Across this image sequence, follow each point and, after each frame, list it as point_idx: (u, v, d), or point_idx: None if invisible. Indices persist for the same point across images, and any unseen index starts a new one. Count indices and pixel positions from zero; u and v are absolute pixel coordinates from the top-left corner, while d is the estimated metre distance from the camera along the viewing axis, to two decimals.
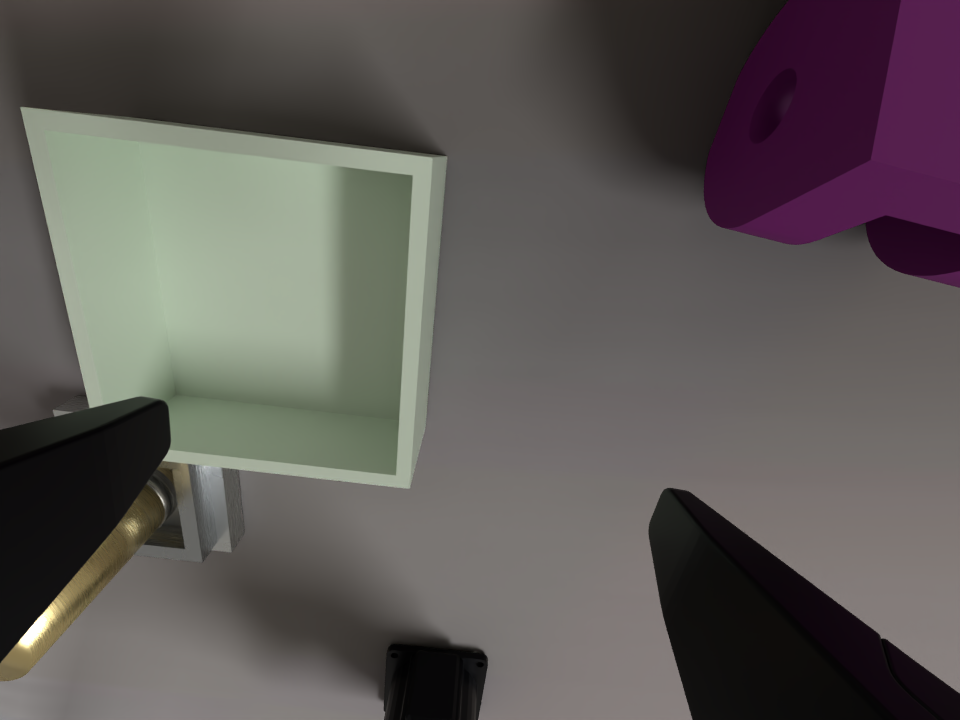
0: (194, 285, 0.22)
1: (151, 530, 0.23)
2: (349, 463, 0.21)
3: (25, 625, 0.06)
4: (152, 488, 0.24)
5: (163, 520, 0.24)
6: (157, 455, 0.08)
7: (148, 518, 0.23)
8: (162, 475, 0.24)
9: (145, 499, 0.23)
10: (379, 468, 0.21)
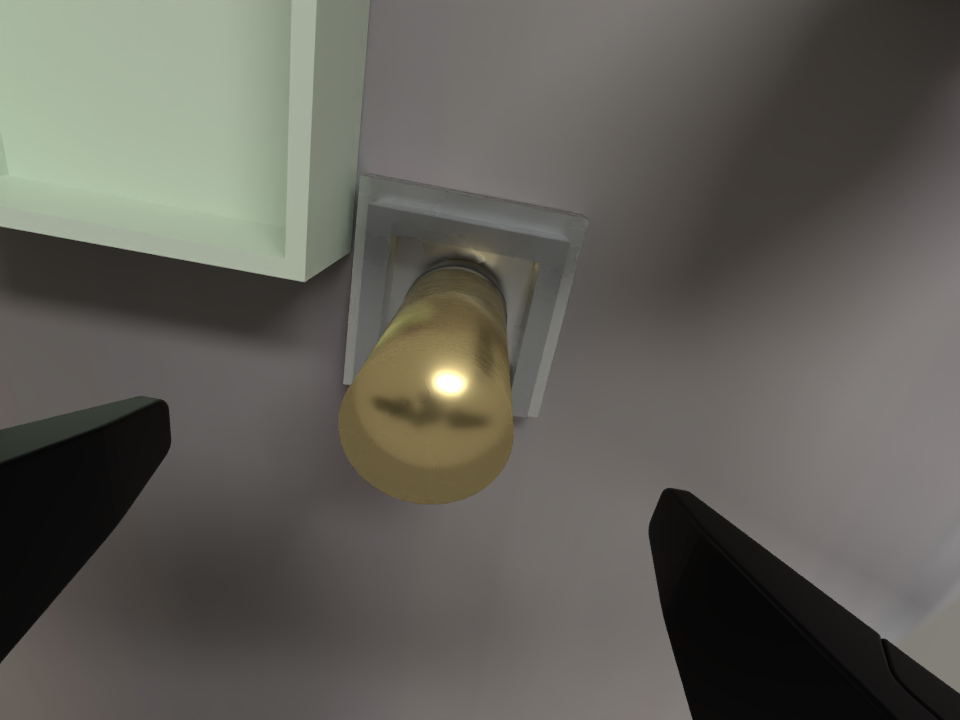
0: (174, 162, 0.17)
1: (474, 280, 0.15)
2: None
3: (25, 625, 0.06)
4: (425, 275, 0.16)
5: (483, 277, 0.16)
6: (157, 455, 0.08)
7: (449, 275, 0.15)
8: (426, 270, 0.17)
9: (427, 278, 0.16)
10: None
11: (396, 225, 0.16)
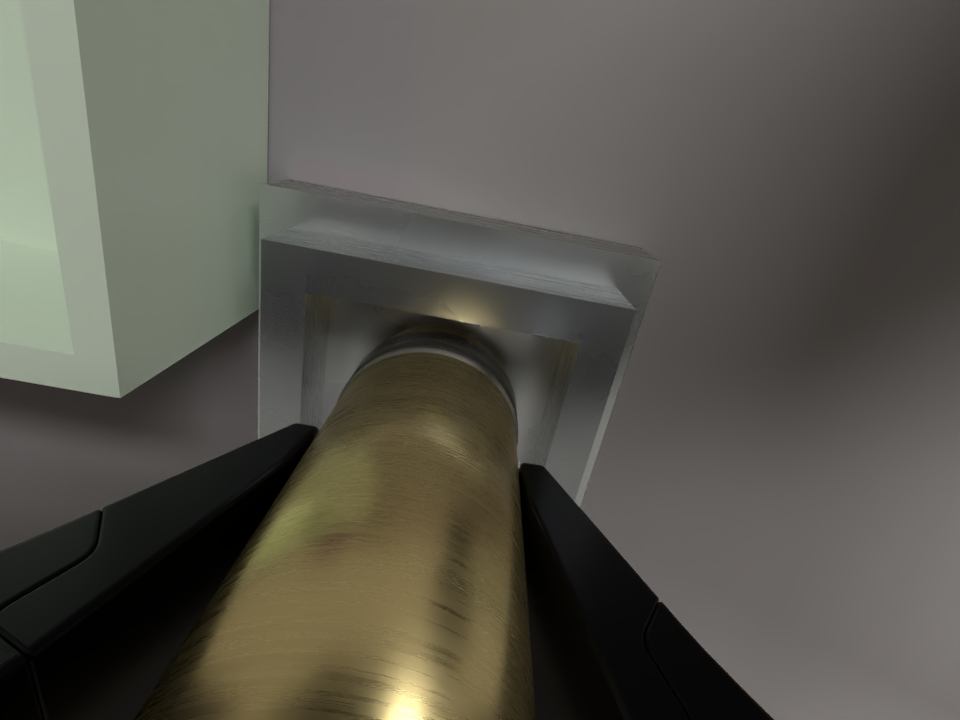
0: None
1: (459, 384, 0.08)
2: None
3: None
4: (373, 362, 0.09)
5: (475, 367, 0.09)
6: None
7: (411, 376, 0.08)
8: (378, 347, 0.10)
9: (372, 374, 0.09)
10: None
11: (316, 277, 0.09)
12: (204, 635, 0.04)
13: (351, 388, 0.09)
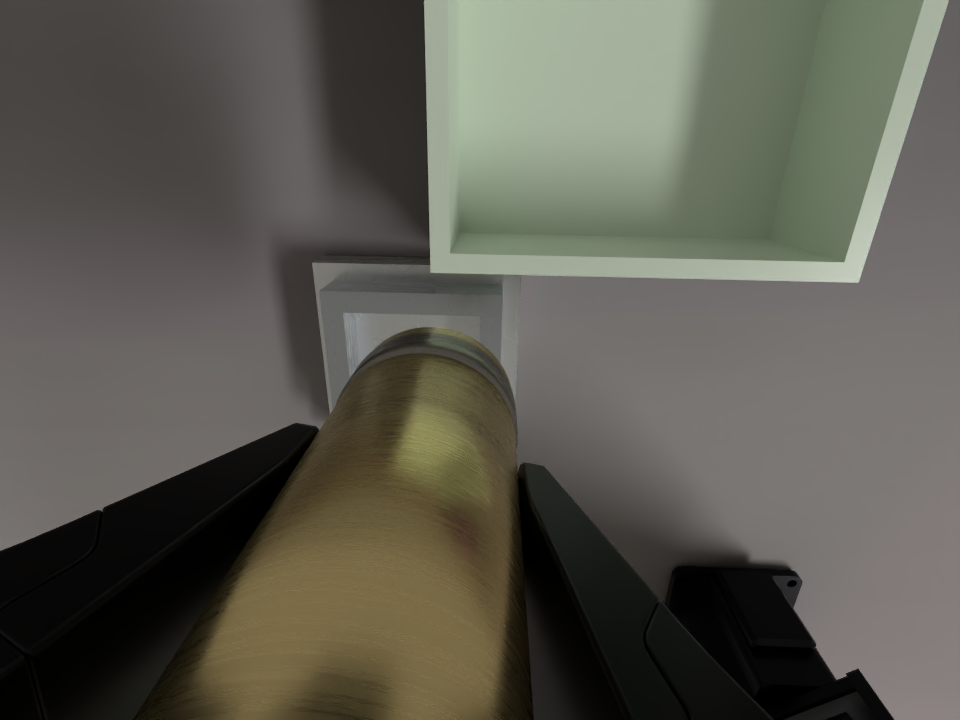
0: (505, 61, 0.17)
1: (458, 385, 0.08)
2: (765, 258, 0.15)
3: None
4: (373, 363, 0.09)
5: (475, 369, 0.09)
6: None
7: (411, 377, 0.08)
8: (378, 348, 0.10)
9: (372, 375, 0.09)
10: (811, 259, 0.15)
11: (488, 321, 0.18)
12: (203, 636, 0.04)
13: (351, 389, 0.09)
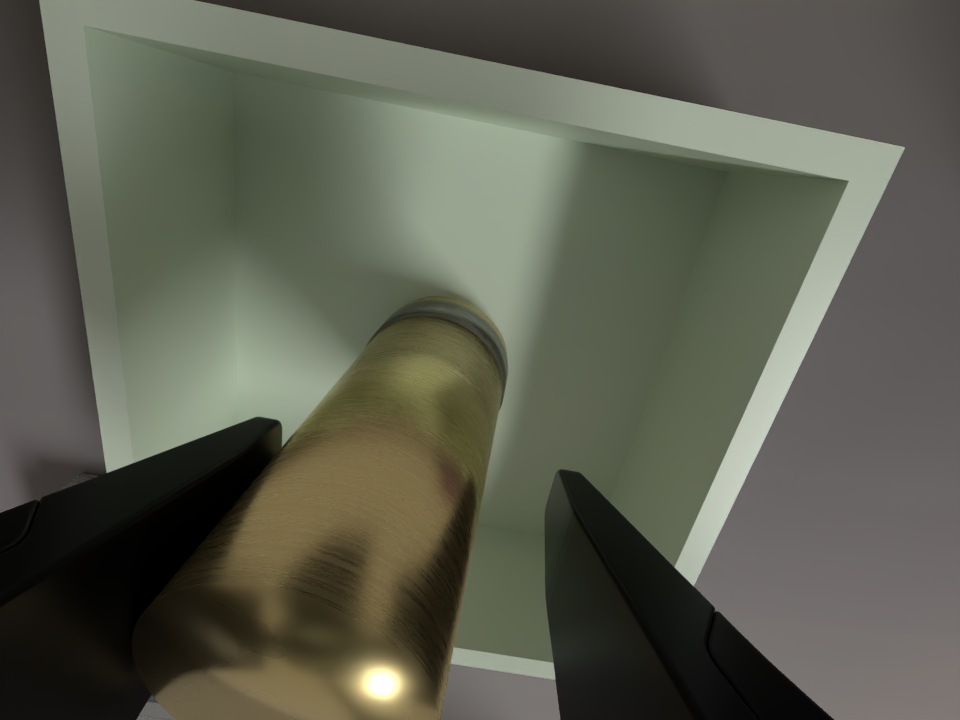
0: (292, 328, 0.14)
1: (455, 343, 0.11)
2: (542, 644, 0.13)
3: None
4: (393, 321, 0.12)
5: (472, 332, 0.11)
6: None
7: (418, 333, 0.10)
8: (399, 310, 0.12)
9: (390, 330, 0.11)
10: None
11: None
12: (266, 474, 0.07)
13: (374, 340, 0.11)
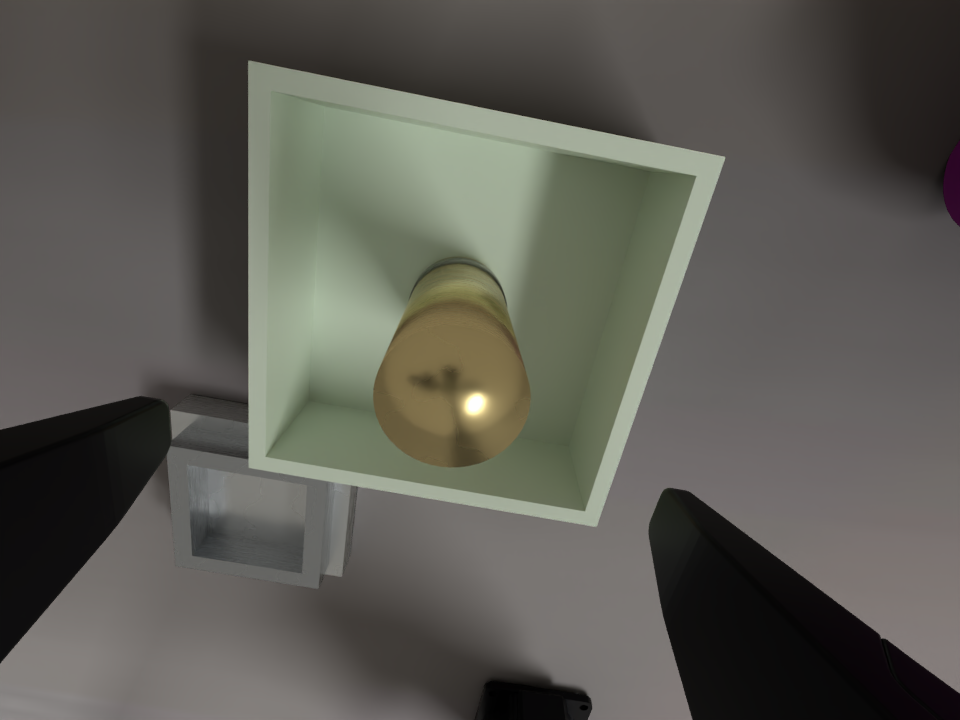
0: (354, 281, 0.20)
1: (484, 276, 0.17)
2: (528, 494, 0.18)
3: (25, 625, 0.06)
4: (437, 266, 0.18)
5: (489, 275, 0.18)
6: (157, 455, 0.08)
7: (462, 269, 0.17)
8: (435, 263, 0.18)
9: (440, 269, 0.17)
10: (563, 501, 0.18)
11: (314, 489, 0.21)
12: (419, 311, 0.12)
13: (428, 275, 0.17)
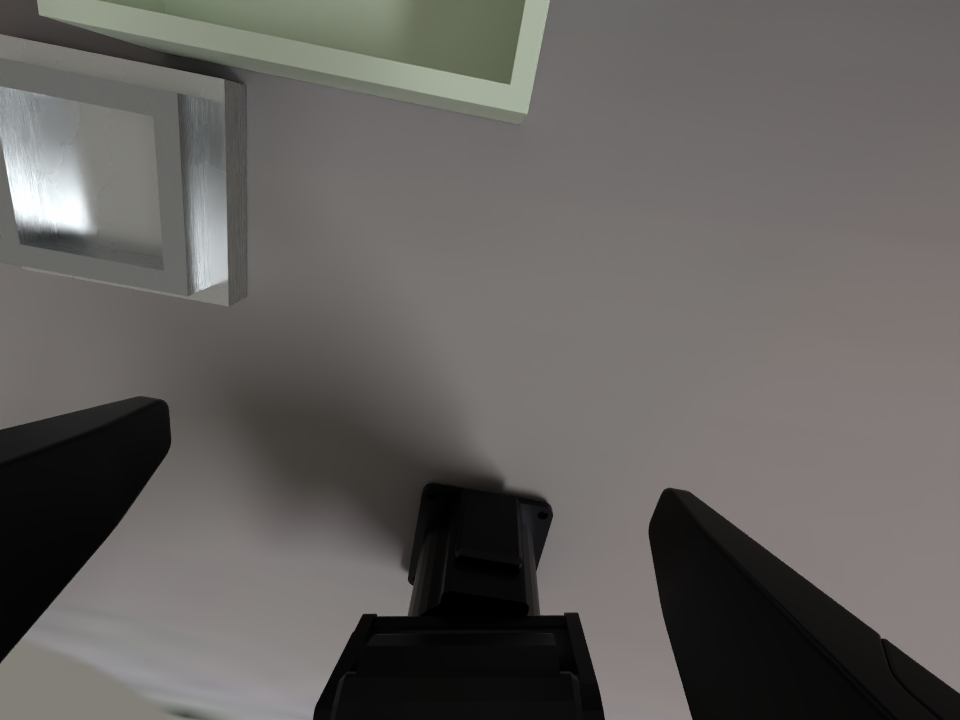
0: None
1: None
2: None
3: (25, 625, 0.06)
4: None
5: None
6: (157, 455, 0.08)
7: None
8: None
9: None
10: None
11: (163, 123, 0.15)
12: None
13: None
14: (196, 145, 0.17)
